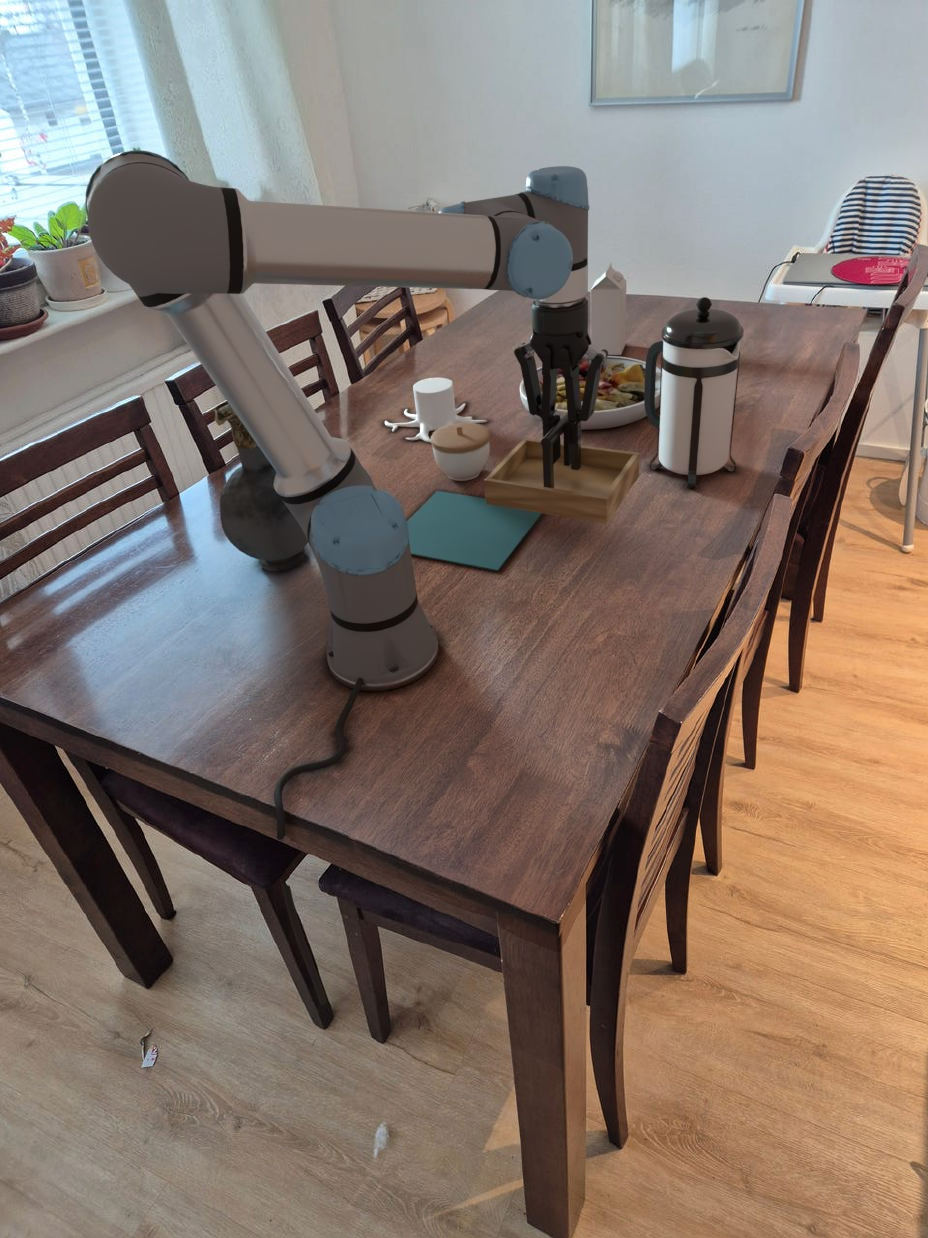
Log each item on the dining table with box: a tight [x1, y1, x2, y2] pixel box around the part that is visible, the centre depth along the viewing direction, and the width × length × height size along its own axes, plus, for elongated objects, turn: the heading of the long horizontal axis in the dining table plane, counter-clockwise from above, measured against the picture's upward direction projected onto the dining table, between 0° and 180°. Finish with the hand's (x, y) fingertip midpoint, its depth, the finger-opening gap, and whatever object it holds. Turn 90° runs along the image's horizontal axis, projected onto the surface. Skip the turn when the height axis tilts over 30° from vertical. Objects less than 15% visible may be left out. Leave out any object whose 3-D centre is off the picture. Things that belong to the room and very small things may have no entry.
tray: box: [483, 411, 641, 525], centre depth 127 cm, size 15×19×11 cm
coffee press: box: [644, 296, 745, 489], centre depth 145 cm, size 17×16×30 cm
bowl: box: [519, 354, 662, 431], centre depth 177 cm, size 30×30×8 cm
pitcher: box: [213, 400, 309, 572], centre depth 134 cm, size 11×19×30 cm, turn 156°
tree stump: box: [384, 377, 488, 444], centre depth 177 cm, size 20×19×8 cm
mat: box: [407, 490, 543, 572], centre depth 144 cm, size 20×21×1 cm
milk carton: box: [589, 261, 627, 356], centre depth 198 cm, size 7×7×19 cm
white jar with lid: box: [430, 423, 491, 482], centre depth 157 cm, size 11×11×9 cm
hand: (562, 460), depth 128 cm, fingers closed on tray, 2 cm apart
